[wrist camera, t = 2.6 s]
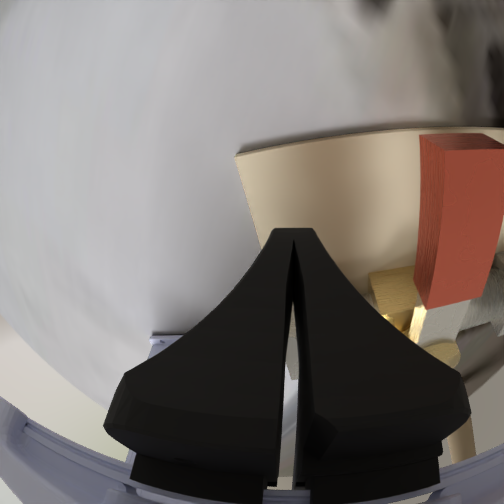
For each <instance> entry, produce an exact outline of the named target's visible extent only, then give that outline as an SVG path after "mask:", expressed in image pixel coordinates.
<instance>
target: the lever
mask: <svg viewBox="0 0 504 504" xmlns="http://www.w3.org/2000/svg"><path fill="white" fill-rule="evenodd" d="M419 144H420V213H419V229H418V242H417V252H416V261H415V269H414V276H413V281H414V284H415V286H416V288H417V290H418V293H417V299H416V304H415V309H414V313H413V318H412V322H411V327H410V328H408V329H407V330H405V331H404V332H402V333H403V334H404V335H405V336H407V337H408V338H409V339H410V340H412V341H413V342H414V343H416V344H417V345H419V346H420V347H421V348H423V349H424V350H425V351H427V352H428V353H430V354H431V355H433V356H434V357H436V358H437V359H439V360H440V361H442V362H444V363H445V364H447V365H448V366H450V367H451V368H453V369H454V367H455V366H456V365H457V364H458V362H459V360H460V356H461V355H460V352H459V349H458V346H457V344H456V341H455V338H456V336H457V334H458V331H459V329H460V327H461V324H462V322H463V319H464V316H465V314H466V311H467V309H468V306H469V303H470V300H471V299H474V298H477V297H481V296H482V293H483V290H484V287H485V284H486V281H487V278H488V275H489V272H490V269H491V266H492V262H493V259H494V255H495V251H496V248H497V244H498V240H499V235H500V231H501V226H502V222H503V217H504V144H502V143H500V142H498V141H496V140H495V139H493V138H491V137H489V136H487V135H485V134H483V133H444V134H421V135H419Z"/></svg>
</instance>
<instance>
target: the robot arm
mask: <svg viewBox="0 0 504 504" xmlns="http://www.w3.org/2000/svg"><path fill="white" fill-rule="evenodd" d="M292 305H293V307H294V317H295V327H296V338H297V349H298V365H299V375H298V407H297V428H296V444H295V458H294V471H293V482H292V490H269V489H267V486H271V487H277V478H278V476H279V463H280V449H281V435H282V418H283V400H284V380H285V363H286V354H287V346H288V338H289V331H290V322H291V314H292ZM149 341H150V343H151V344H152V345H153V346H152V348H151V351H150V354H149V356H148V359H147V360H146V361H145V362H143V363H141V364H139V365H138V366H136V367H134V368H133V369H131V370H129V371H127V372H125V373H124V375H123V377H122V379H121V381H120V383H119V385H118V387H117V389H116V392H115V394H114V397H113V400H112V402H111V405H110V408H109V410H108V413H107V416H106V419H105V422H104V425H103V427H104V429H105V430H106V432H107V433H108V434H109V435H110V436H111V437H113V438H114V439H115V440H117V441H118V442H120V443H121V444H123V445H124V446H126V447H127V448H129V452H128V455H127V458H126V462H123V461H120V460H117V459H114V458H111V457H108V456H106V455H103V454H101V453H98V452H96V451H93V450H91V449H88V448H86V447H84V446H82V445H79V444H77V443H75V442H73V441H71V440H69V439H67V438H65V437H63V436H60V435H59V434H57V433H55V432H53V431H51V430H49V429H47V428H45V427H44V426H42V425H40V424H38V423H37V422H35V421H33V420H31V419H30V418H28V417H27V416H26V415H25V414H24V413H23V412H21V411H20V410H19V409H17V408H16V407H15V406H13V405H12V404H11V403H9V402H8V401H6V400H5V399H3V398H2V397H0V477H1V478H2V480H3V481H4V482H5V483H6V484H7V486H8V487H9V488H10V489H11V490H12V492H13V493H14V494H15V495H16V496H17V497H18V498H19V500H20V501H21V502H22V503H23V504H388V503H392V502H397V501H401V500H405V499H409V498H413V497H417V496H420V495H424V494H427V493H431V492H433V493H432V494H431V495H430V497H429V499H428V500H427V501H426V502H422V503H418V504H504V443H503V444H501V445H499V446H497V447H494V448H492V449H490V450H488V451H486V452H483V453H481V454H479V455H476V456H473V457H471V458H468V459H466V460H463V461H460V462H458V463H455V464H452V465H449V466H446V467H443V468H440V469H439V464H438V456H440V455H442V453H443V448H442V440H443V439H445V438H446V437H448V436H449V435H451V434H452V433H453V432H455V431H456V430H457V429H459V428H460V427H461V426H462V425H463V424H465V423H466V422H467V420H468V418H469V417H470V415H471V409H470V404H469V400H468V396H467V392H466V388H465V385H464V383H463V380H462V377H461V375H460V373H459V372H458V371H456V370H455V369H453V368H451V367H450V366H448V365H447V364H445V363H444V362H442V361H440V360H439V359H437V358H436V357H434V356H433V355H431V354H430V353H428V352H427V351H425V350H424V349H423V348H421V347H420V346H419V345H417V344H416V343H414V342H413V341H412V340H410V339H409V338H408V337H407V336H405V335H404V334H403V333H402V332H400V331H399V330H398V329H397V328H396V327H395V326H393V325H392V324H391V323H390V322H389V321H388V320H386V319H385V318H384V317H383V316H382V315H381V314H380V313H379V312H378V311H377V310H376V309H374V308H373V307H372V306H371V305H370V303H369V302H368V301H367V300H366V299H365V298H364V297H363V296H362V295H361V294H360V293H359V292H358V291H357V289H356V288H355V287H354V286H353V285H352V284H351V282H350V281H349V280H348V279H347V278H346V276H345V275H344V274H343V273H342V271H341V270H340V269H339V267H338V266H337V265H336V263H335V262H334V260H333V259H332V258H331V256H330V255H329V253H328V252H327V250H326V249H325V247H324V246H323V244H322V243H321V241H320V239H319V237H318V236H317V234H316V232H315V230H314V229H313V228H274V229H273V230H272V231H271V233H270V235H269V238H268V240H267V242H266V243H265V245H264V247H263V249H262V250H261V252H260V253H259V255H258V257H257V258H256V260H255V261H254V263H253V264H252V266H251V267H250V268H249V270H248V271H247V272H246V274H245V275H244V276H243V278H242V279H241V280H240V281H239V283H238V284H237V285H236V286H235V288H234V289H233V290H232V291H231V292H230V293H229V294H228V295H227V297H226V298H225V299H224V300H223V301H222V302H221V303H220V304H219V305H218V306H217V307H216V308H215V309H214V310H213V311H211V312H210V313H209V314H208V315H207V316H206V317H205V318H204V319H203V320H202V321H201V322H199V323H198V324H197V325H196V326H195V327H194V328H192V329H191V330H190V331H188V332H187V333H186V334H184V335H171V336H150V338H149ZM434 491H435V492H434Z"/></svg>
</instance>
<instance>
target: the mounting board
mask: <svg viewBox="0 0 504 504" xmlns="http://www.w3.org/2000/svg"><path fill="white" fill-rule="evenodd" d="M444 133H483V134H485V135H487V136H489V137H491V138H493V139H495V140H496V141H498V142H500V143H502V144H504V128H494V127H428V128H408V129H394V130H382V131H372V132H362V133H354V134H346V135H338V136H331V137H324V138H317V139H311V140H305V141H299V142H293V143H288V144H283V145H277V146H272V147H267V148H262V149H258V150H253V151H248V152H244V153H239V154H236V155H235V157H234V158H235V161H236V165H237V168H238V171H239V175H240V178H241V181H242V185H243V188H244V191H245V195H246V198H247V202H248V205H249V208H250V212H251V215H252V219H253V222H254V225H255V229H256V232H257V236H258V239H259V243H260V246H261V249H263V247H264V245H265V243H266V242H267V240H268V238H269V235H270V233H271V231H272V230H273V229H274V228H313V229H314V230H315V232H316V234H317V236H318V237H319V239H320V241H321V243H322V244H323V246H324V247H325V249H326V250H327V252H328V253H329V255H330V256H331V258H332V259H333V260H334V262H335V263H336V265H337V266H338V267H339V269H340V270H341V271H342V273H343V274H344V275H345V276H346V278H347V279H348V280H349V281H350V282H351V284H352V285H353V286H354V287H355V288H356V289H357V291H358V292H359V293H360V294H365V293H368V273H370V272H376V271H382V270H388V269H394V268H400V267H406V266H411V265H415V261H416V252H417V242H418V229H419V213H420V144H419V135H421V134H444ZM502 251H504V217H503V222H502V226H501V231H500V235H499V240H498V244H497V248H496V251H495V253H498V252H502ZM494 256H495V255H494ZM493 260H494V259H493ZM492 263H493V262H492Z"/></svg>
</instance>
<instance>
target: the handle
mask: <svg viewBox="0 0 504 504" xmlns="http://www.w3.org/2000/svg"><path fill="white" fill-rule="evenodd" d="M447 440H448V444H449V448H450V453H451V458H452V463H453V464H455V463H458V462H460V461H463V460H466V459H468V458H471V457H473V456H476V452H475V443H474V436H473V429H472V421H471V415H470V417H469V418H468V420H467V422H466V423H465V424H463V425H462V426H461V427H460V428H459V429H457V430H456V431H455V432H453V433H452V434H451V435H449V436H448V437H447Z"/></svg>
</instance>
